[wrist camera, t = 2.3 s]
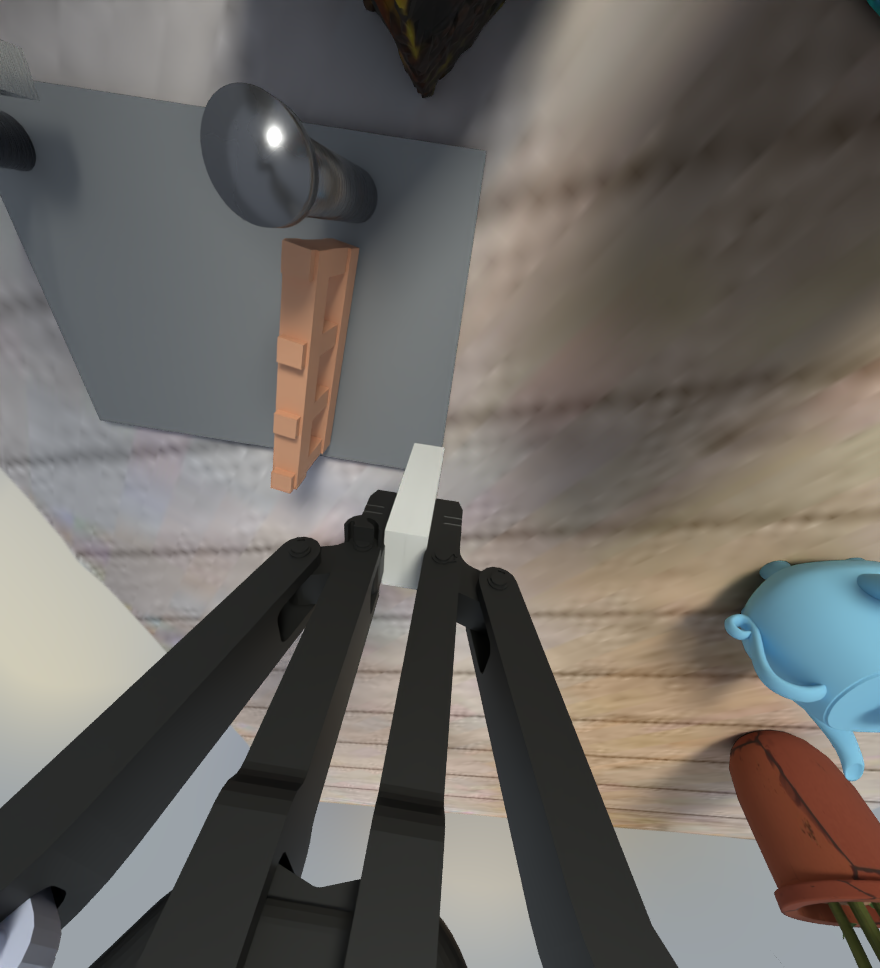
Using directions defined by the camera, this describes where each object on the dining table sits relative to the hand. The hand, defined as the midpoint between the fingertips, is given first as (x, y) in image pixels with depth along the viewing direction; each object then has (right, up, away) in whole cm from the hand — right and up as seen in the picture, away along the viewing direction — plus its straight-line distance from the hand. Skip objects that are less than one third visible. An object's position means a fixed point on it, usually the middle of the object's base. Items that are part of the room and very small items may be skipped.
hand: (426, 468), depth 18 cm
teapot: (+33, -10, +14) cm, 38 cm away
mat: (-12, +10, +5) cm, 16 cm away
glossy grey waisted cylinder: (-4, +15, +1) cm, 15 cm away
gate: (-6, +8, +5) cm, 11 cm away
